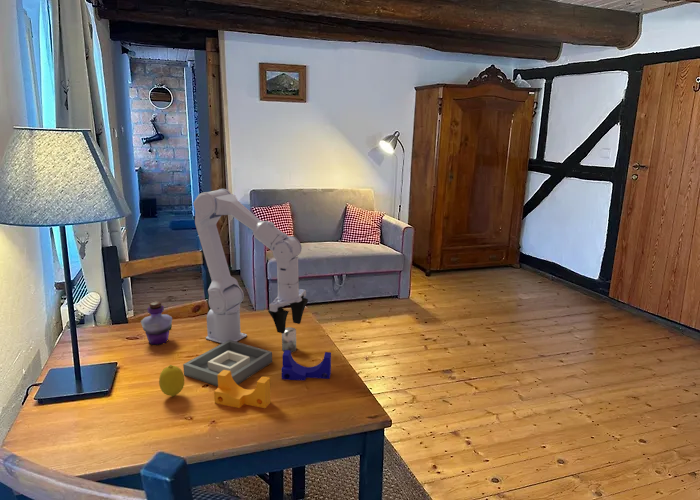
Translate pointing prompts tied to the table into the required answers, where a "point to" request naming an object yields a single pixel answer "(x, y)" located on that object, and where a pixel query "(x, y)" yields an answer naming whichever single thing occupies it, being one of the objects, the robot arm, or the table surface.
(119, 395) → the table surface
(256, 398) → the pipe clamp
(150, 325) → the potion bottle
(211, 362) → the walled tray
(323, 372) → the blue cradle block
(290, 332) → the metal peg
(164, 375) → the lemon
